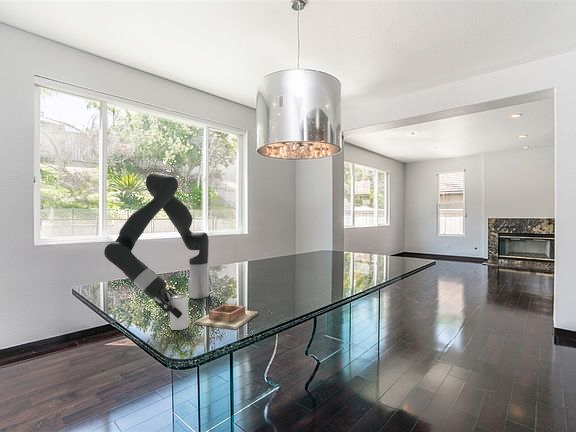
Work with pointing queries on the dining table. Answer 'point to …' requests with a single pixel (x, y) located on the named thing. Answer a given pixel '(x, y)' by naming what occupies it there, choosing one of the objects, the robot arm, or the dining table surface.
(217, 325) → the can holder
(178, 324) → the can
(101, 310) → the dining table surface
